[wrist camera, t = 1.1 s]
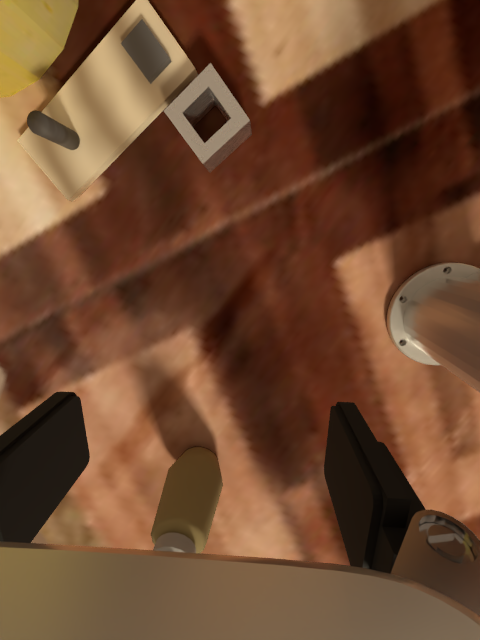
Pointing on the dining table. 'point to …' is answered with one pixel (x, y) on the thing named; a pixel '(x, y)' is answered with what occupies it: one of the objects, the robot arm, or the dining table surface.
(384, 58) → the dining table surface
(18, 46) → the cheese
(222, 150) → the link
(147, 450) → the dining table surface
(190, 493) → the squeeze bottle
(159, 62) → the peg board
